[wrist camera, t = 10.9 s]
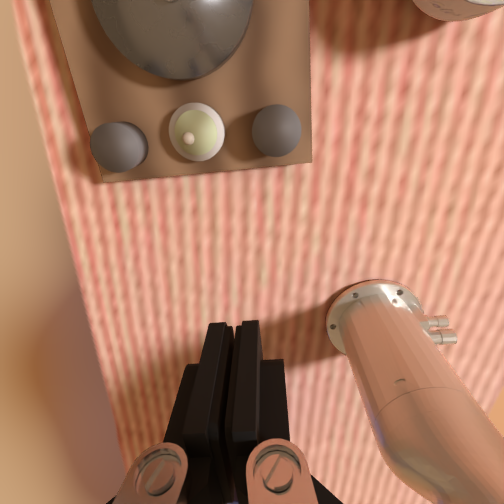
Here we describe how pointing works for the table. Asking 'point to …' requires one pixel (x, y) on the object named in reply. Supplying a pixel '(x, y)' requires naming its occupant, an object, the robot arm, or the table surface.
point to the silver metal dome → (175, 33)
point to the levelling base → (194, 99)
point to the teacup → (457, 8)
